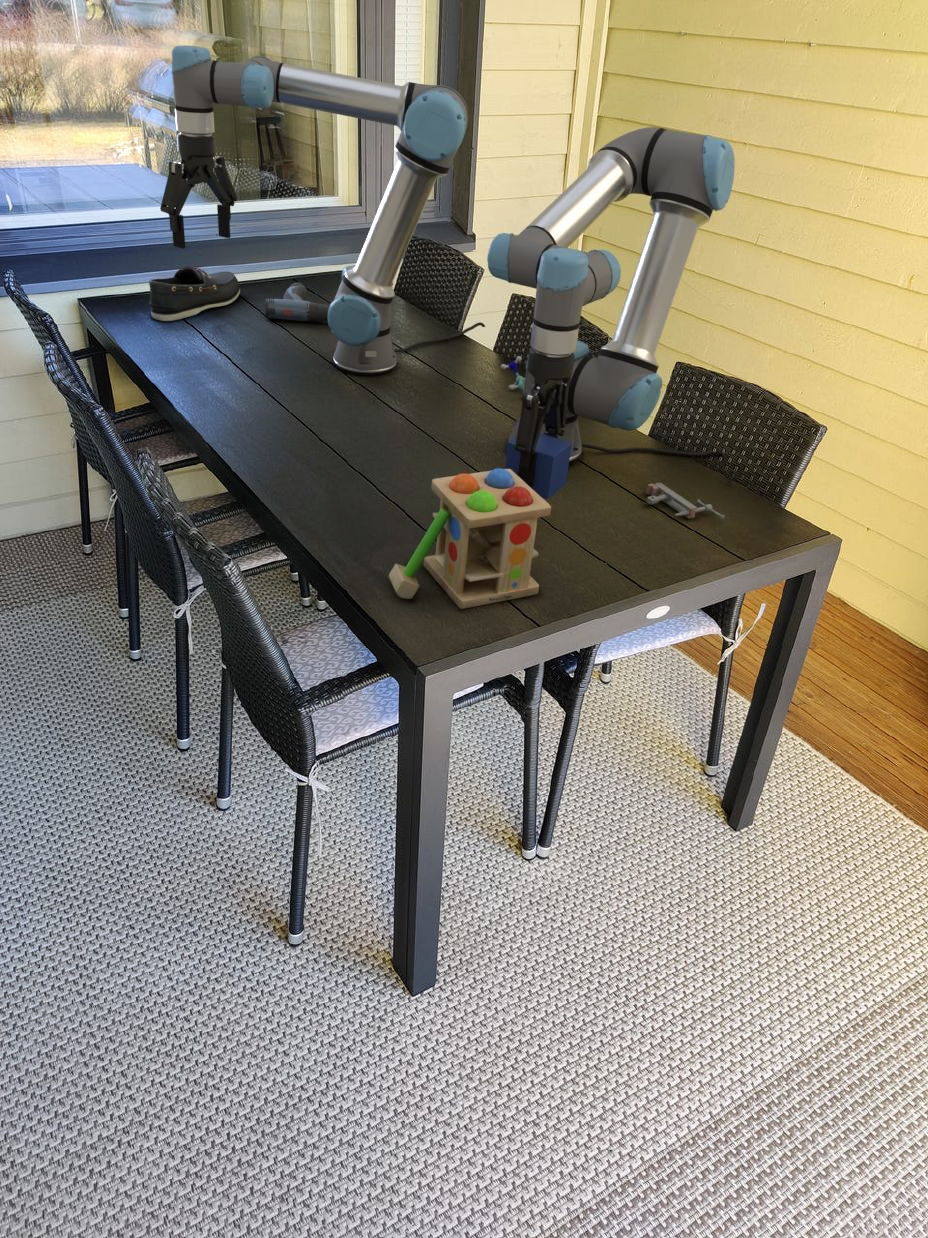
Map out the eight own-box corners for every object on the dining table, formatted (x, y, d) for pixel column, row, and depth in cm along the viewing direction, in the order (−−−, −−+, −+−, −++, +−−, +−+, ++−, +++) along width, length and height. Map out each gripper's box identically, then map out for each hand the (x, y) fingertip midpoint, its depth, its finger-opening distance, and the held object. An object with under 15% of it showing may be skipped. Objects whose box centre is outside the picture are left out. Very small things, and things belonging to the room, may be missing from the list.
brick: (522, 470, 178) (527, 428, 173) (565, 484, 175) (572, 442, 170) (502, 484, 173) (507, 442, 168) (547, 499, 169) (553, 456, 165)
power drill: (344, 304, 276) (335, 327, 259) (277, 298, 275) (264, 321, 258) (344, 285, 273) (335, 306, 256) (277, 279, 272) (264, 300, 255)
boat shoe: (257, 300, 274) (255, 261, 268) (168, 323, 250) (164, 281, 244) (224, 291, 279) (221, 254, 274) (133, 313, 256) (128, 272, 250)
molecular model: (546, 391, 223) (532, 348, 222) (508, 405, 227) (494, 363, 225) (558, 390, 234) (545, 349, 232) (521, 403, 237) (508, 363, 236)
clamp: (635, 486, 189) (675, 478, 194) (633, 496, 191) (673, 488, 195) (686, 521, 179) (727, 512, 184) (684, 532, 180) (724, 522, 185)
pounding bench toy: (410, 620, 149) (416, 516, 139) (375, 573, 160) (379, 473, 149) (540, 594, 159) (555, 495, 148) (499, 551, 169) (510, 455, 159)
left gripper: (224, 125, 210) (229, 229, 222) (135, 135, 192) (146, 247, 204) (251, 131, 207) (254, 235, 219) (163, 141, 189) (172, 255, 201)
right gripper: (558, 329, 169) (542, 451, 182) (502, 360, 154) (489, 491, 167) (598, 339, 166) (578, 463, 179) (545, 372, 151) (528, 504, 164)
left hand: (202, 241), depth 212 cm, fingers open, 13 cm apart
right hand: (535, 476), depth 173 cm, fingers closed on brick, 7 cm apart
